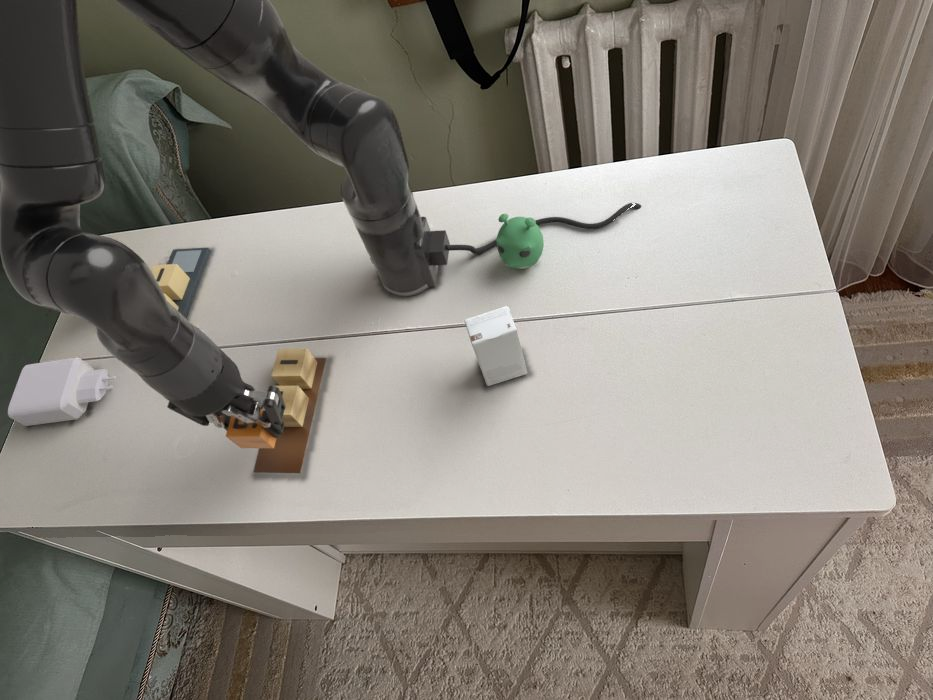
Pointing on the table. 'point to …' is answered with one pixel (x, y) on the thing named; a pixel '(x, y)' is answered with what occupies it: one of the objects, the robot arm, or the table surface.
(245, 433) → the tile
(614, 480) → the table surface
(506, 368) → the cosmetic box
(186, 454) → the table surface
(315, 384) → the front word
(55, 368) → the charger
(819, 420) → the table surface
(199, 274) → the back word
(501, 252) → the alien toy
